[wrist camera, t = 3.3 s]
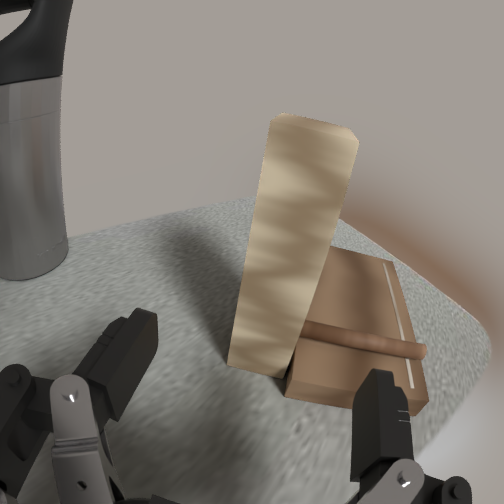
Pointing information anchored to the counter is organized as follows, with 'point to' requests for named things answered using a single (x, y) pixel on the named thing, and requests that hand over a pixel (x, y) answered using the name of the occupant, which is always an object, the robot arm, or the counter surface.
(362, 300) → the walnut board
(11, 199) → the robot arm
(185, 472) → the counter surface
